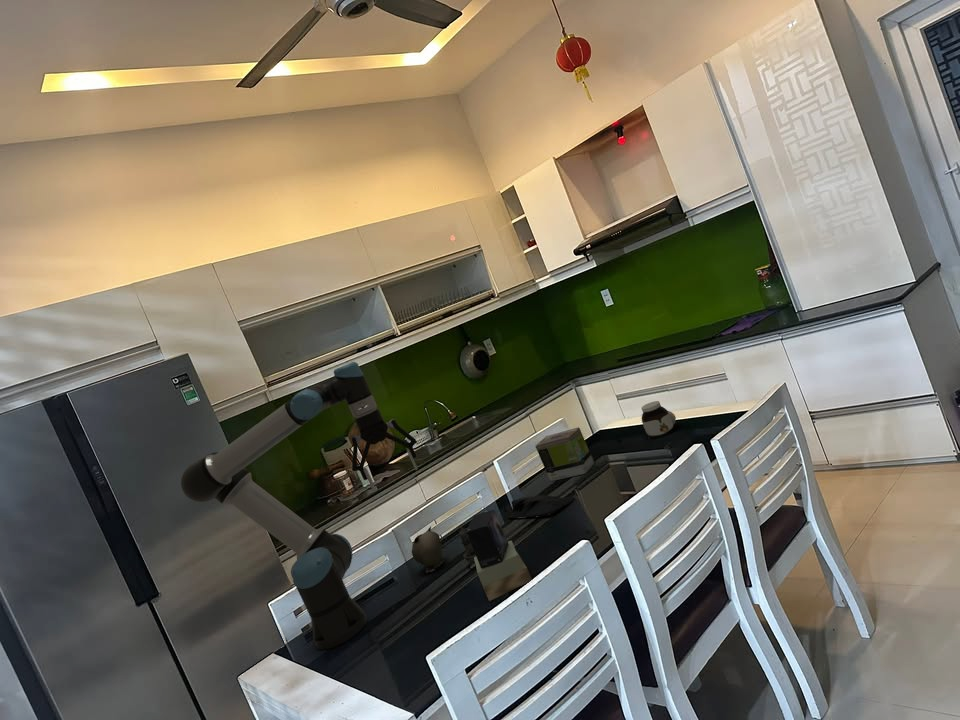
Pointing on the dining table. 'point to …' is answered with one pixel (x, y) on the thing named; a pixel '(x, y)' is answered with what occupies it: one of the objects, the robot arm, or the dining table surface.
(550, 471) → the tea box
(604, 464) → the dining table surface
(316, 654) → the dining table surface
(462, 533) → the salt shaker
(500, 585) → the tower bottom
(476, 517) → the small box
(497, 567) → the tower top
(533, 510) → the dark slate chunk
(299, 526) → the robot arm
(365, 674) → the dining table surface
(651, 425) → the spread jar
